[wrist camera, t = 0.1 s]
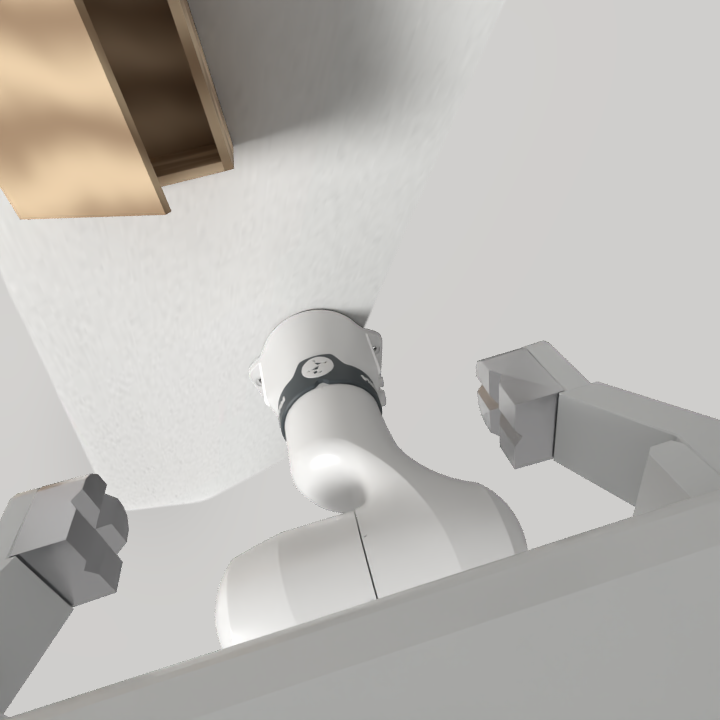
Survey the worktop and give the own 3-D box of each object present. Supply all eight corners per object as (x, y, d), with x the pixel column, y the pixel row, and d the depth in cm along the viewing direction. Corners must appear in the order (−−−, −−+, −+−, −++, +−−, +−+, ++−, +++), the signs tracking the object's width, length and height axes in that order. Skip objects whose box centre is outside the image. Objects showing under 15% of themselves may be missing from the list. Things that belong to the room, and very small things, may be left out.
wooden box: (233, 146, 50) (233, 168, 42) (61, 188, 49) (27, 219, 41) (113, -232, 35) (78, -309, 27) (-142, -185, 34) (-259, -251, 26)
